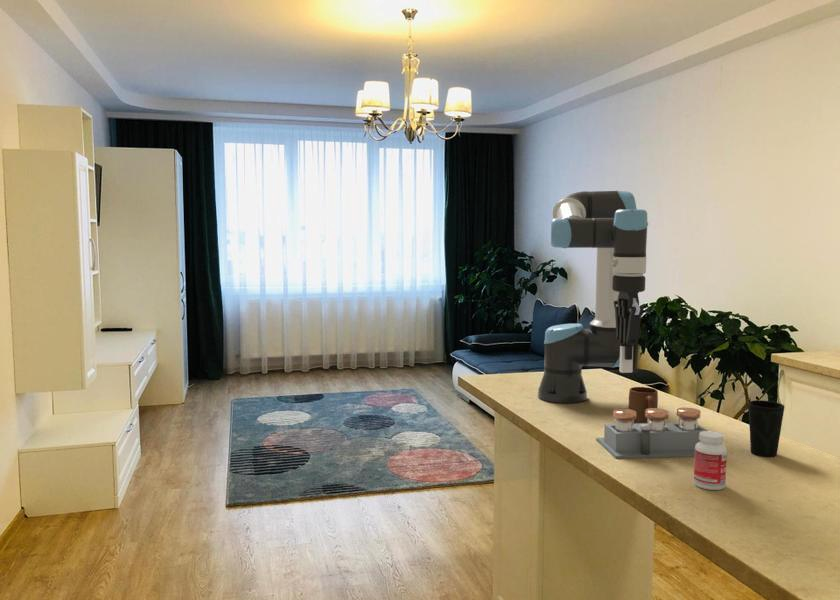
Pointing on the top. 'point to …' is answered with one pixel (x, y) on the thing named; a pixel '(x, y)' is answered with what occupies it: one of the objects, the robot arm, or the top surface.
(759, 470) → the top surface
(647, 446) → the pot post
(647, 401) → the mug
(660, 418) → the knob mid
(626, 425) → the knob
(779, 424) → the cup
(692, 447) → the mount
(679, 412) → the knob
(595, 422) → the top surface
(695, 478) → the pill bottle
